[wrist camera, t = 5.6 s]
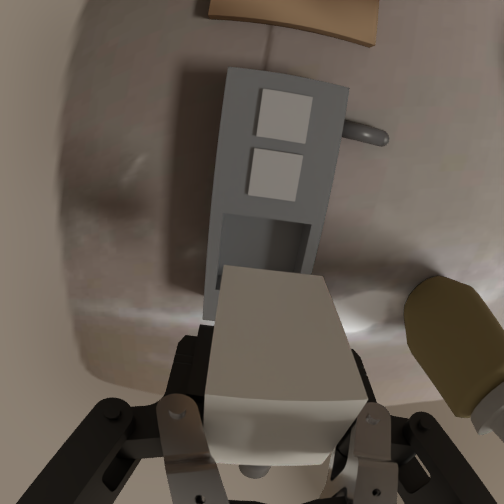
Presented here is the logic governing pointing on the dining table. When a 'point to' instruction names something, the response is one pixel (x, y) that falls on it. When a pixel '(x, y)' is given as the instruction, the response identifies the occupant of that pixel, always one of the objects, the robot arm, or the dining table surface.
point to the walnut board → (307, 16)
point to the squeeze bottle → (459, 349)
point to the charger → (278, 372)
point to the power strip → (274, 172)
